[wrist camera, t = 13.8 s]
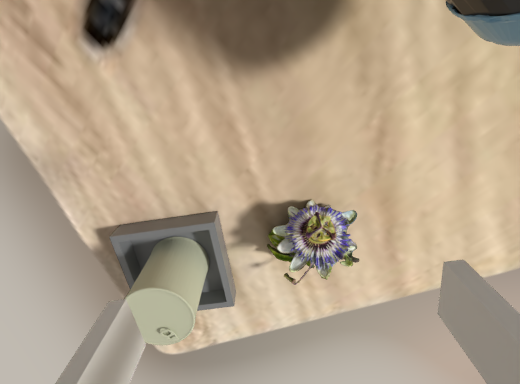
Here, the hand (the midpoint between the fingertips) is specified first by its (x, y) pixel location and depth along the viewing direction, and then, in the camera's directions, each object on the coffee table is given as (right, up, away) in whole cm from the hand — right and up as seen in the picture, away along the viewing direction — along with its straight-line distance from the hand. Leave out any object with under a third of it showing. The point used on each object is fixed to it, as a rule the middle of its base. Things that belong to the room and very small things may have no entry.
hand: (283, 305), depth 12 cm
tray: (-14, -6, +34) cm, 37 cm away
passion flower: (+6, -1, +33) cm, 33 cm away
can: (-14, -6, +34) cm, 37 cm away
